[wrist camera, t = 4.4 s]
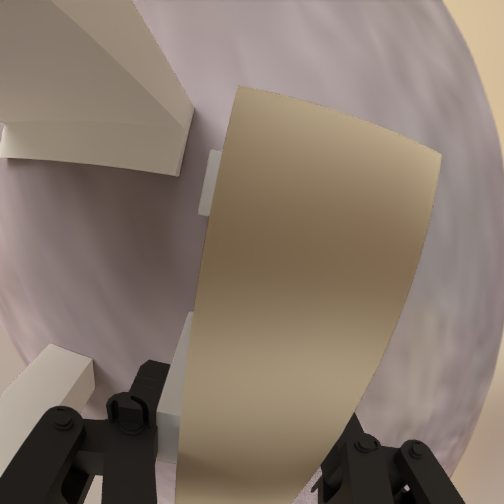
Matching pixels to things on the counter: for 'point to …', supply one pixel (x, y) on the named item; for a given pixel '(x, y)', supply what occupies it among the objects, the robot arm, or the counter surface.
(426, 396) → the counter surface
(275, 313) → the rail
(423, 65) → the counter surface
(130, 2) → the white shelf
